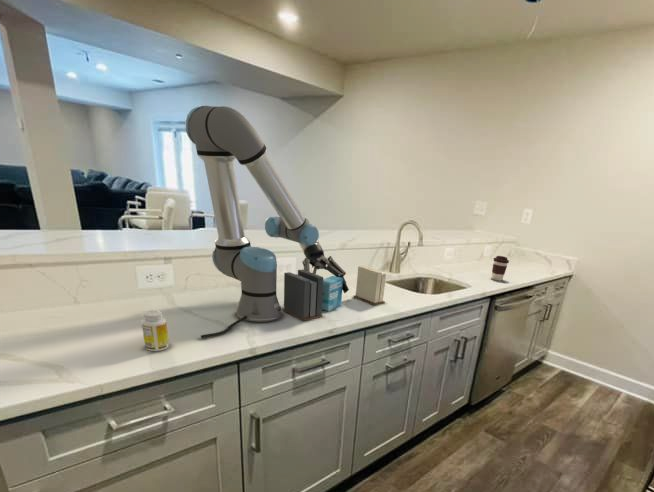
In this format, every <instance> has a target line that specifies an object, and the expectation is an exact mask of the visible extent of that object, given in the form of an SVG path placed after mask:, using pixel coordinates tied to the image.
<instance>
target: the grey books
mask: <svg viewBox="0 0 654 492" xmlns="http://www.w3.org/2000/svg"><path fill="white" fill-rule="evenodd" d="M283 278H284V279H283V308H282V310H283V311H284V312H286V313H288V314H290V315H292V316H293V317H296V318H298V319H299V320H302V321H304V322H305V321H309V320H314V319H319V318H322V317H323V314H322V312H323V310H322V294H323V279H324V276H322V275H319V274H317V273H316V274H314V273H311V271H310V272H308V271H306V270H304V268H303V269H297V273H296V274H295V273H292V272H291V271H289V272H284V274H283Z"/></svg>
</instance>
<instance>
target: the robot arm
mask: <svg viewBox="0 0 654 492" xmlns="http://www.w3.org/2000/svg"><path fill="white" fill-rule="evenodd" d="M184 129H185V133H186V135H187V137H188V139H189V140H190V141H191V142H192V144H193V145H195V146H194V147H195V150H196V155H197V157H198V158H199V159H200V160H202V161H203V164H204V168H205V175H206V179H207V184H208V189H209V195H210V201H211V205H212V210H213V215H214V221H215V226H216V230H217V235H218V237H217V239H215V241H214V245H215V247H214V250H212V255H211V256H212V257H211V258H212V259H211V260H212V263H213V265H214V267H215V269H216V270H217V271H219V272H220V273H221V274H222V275H225V276H226V277H229V278H232V279H235V280H237V281H239V282H240V285H241V286H240V288H241V295H240V298H239V301H238V305H237V307H236V317H237V318H238V320H236V321H234V322H232V323H231V324H229V325H228V326H227V327H226V328H225V329H223V330H220V331H217V332H213V333H206V334H201V335H200V338H201V339H206V338H213V337H218V336H221V335H224V334H226V333H228V332H229V331H230V330H231V329H232V328H234V327H236V326H237V325H238V324H240V323H242V322H244V321H245V322H249V323H269V322H274V321H277V320H280V319H281V318H282V309H281V305H280V302H279V299H278V296H277V278H278V276H277V275H278V273H277V271H278V261H277V256H276V254H275V253H274V252H273V251H271V250H269V249H267V248H265V247H264V248H262V247H259V246H252V245H251V239H250V238H248V237H247V236H246V235H245V230H244V223H243V217H242V210H241V204H240V198H239V192H238V186H237V178H236V172H235V167H234V161H235V159H236V160H237V162H238V164H240V165H241V166H245V167H246V170H247V171H248V173H250V175H251V176H252V178H253V179H254V181H255V182H256V184H257V185H258V187H259V188H260V190H261V191H262V193H263V194H264V196H265V197H266V199H267V200H268V202H269V203H270V205H271V206H272V208H273V210H275V212H276V214H277V215H278V216H269V217H267V218H266V220H265V222H264V230H265V233H266V235H267V236H268V237H270V238H275V239H278V238H282V239H284V240H285V239H286V240H287V241H291V242H295V243H298V245H299V246H300V248H301V250H302V252H303V254H304V257H305V258H304V259H303V260H302V261H301V263H302V265H303V270H306V271H308V272H311V273H314V274H316V275H317V270H325V271H328V272H329V273H330V274H331V275H332V276H335V277H340V278H342V279H343V288H342V293H344V294H346V293H347V292H348V291H350V289H349V287H348V284H347V281H346V279H345V276H346V275H347V272H346V271H345V269H344V268H342V267H341V266H340V265H339V264H338V263H337V262H336V261H335V260H334V258H333V256H332V255H329V256H327V257H326V256H325V252H324V249H323V247H322V245H321V244H320V242H319V237H320V233H319V229H318V227H316V225H313V224H312V223H310V221H309V219H308V218H307V216H306V214H305V213H304V212H302V210H301V209H300V207H299V205H298V203H297V202H296V201H295V199H294V197H293V195H292V194H291V192H290V190H289V189H288V188H287V186H286V184H285V182H284V181H283V179H282V178H281V175H280V174H279V172H278V171H277V169H276V167H275V166H274V164H273V163H272V160H271V159H270V158H269V156H268V154H267V152H268V147H267V146H266V144H265V142H264V141H263V139H262V137H261V136H260V134H259V132H258V131H257V130H256V129H255V128H254V126H253V125H252V124H251V123H250V121H249V120H248V119H247V118H246V116H244V115H243V114H242V113H241V112H239V111H238V110H236V109H235V108H232V107H230V106H225V105H224V106H223V105H222V106H211V105H201V106H197V107H194V108H192V109H191V110H190V111H189V112H188V114H187V115H186V117H185V122H184ZM310 266H311V271H310ZM323 295H324V294H322V296H323Z"/></svg>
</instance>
